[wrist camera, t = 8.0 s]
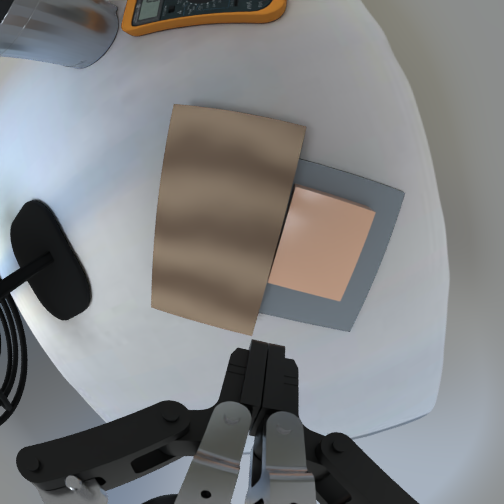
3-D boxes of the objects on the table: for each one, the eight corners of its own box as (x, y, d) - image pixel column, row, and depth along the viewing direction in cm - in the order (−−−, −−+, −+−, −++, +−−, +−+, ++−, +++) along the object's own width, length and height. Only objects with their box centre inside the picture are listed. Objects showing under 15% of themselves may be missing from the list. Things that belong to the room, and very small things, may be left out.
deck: (188, 109, 25) (173, 104, 21) (303, 129, 25) (306, 126, 21) (164, 290, 33) (151, 307, 30) (255, 315, 33) (251, 335, 29)
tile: (294, 183, 26) (295, 186, 24) (368, 206, 26) (375, 212, 24) (269, 272, 30) (267, 282, 28) (336, 290, 30) (340, 301, 27)
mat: (296, 158, 26) (297, 158, 25) (402, 191, 25) (405, 192, 25) (257, 309, 33) (257, 312, 32) (349, 329, 32) (349, 331, 32)
